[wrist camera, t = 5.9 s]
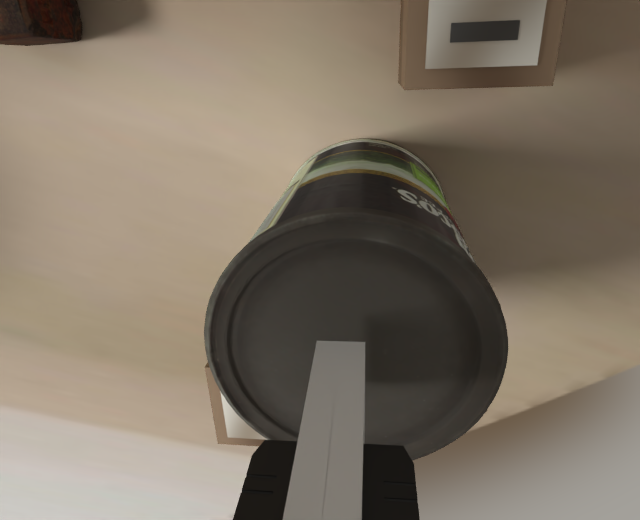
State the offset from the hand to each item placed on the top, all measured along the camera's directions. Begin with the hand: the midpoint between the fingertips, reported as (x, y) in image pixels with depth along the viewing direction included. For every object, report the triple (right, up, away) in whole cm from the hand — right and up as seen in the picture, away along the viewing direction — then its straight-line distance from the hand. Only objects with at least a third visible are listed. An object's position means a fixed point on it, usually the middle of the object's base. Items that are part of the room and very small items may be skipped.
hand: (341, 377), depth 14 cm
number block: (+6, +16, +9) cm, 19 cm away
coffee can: (+2, +6, +14) cm, 15 cm away
